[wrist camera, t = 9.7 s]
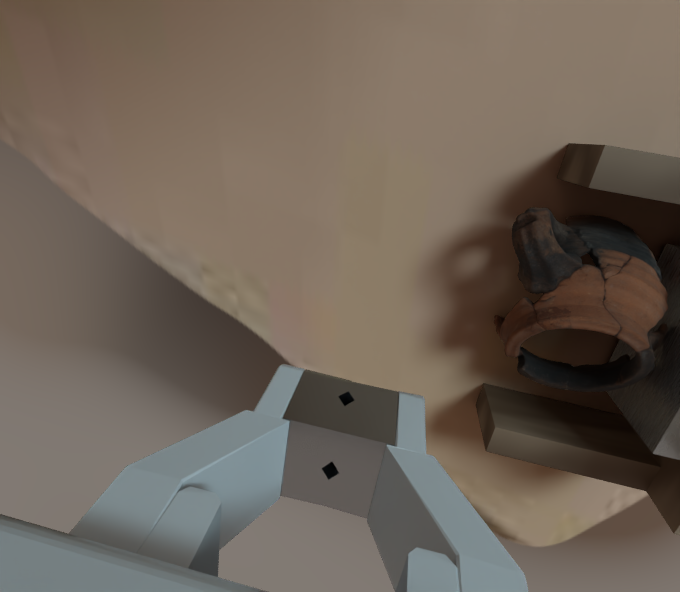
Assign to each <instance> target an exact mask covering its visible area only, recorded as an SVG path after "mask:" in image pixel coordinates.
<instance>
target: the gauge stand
mask: <svg viewBox="0 0 680 592" xmlns="http://www.w3.org/2000/svg"><path fill="white" fill-rule="evenodd" d="M557 178H558V179H561V180H564V181H568V182H571V183H574V184H578V185H581V186H584V187H588V188H592V189H598V190H603V191H609V192H615V193H620V194H626V195H631V196H637V197H642V198H648V199H653V200H659V201H664V202H670V203H675V204H680V158H678V157H672V156H666V155H660V154H654V153H648V152H642V151H637V150H631V149H625V148H619V147H613V146H607V145H592V144H570V143H569V145H568V148H567V151H566V154H565V156H564V159H563V162H562V165H561V168H560V170H559V173H558V176H557ZM476 408H477V413H478V417H479V422H480V427H481V431H482V436H483V440H484V445H485V449H486V451H487V452H491V453H495V454H499V455H503V456H507V457H511V458H515V459H519V460H523V461H527V462H531V463H535V464H539V465H543V466H547V467H551V468H555V469H559V470H563V471H567V472H571V473H575V474H579V475H583V476H587V477H591V478H595V479H599V480H603V481H607V482H612V483H616V484H620V485H624V486H628V487H632V488H636V489H640V490H644V491H647V493H648V494H649V496H650V497H651V499H652V501H653V502H654V504H655V505H656V507H657V508H658V510H659V511H660V513H661V515H662V516H663V518H664V519H665V521H666V522H667V524H668V525H669V527H670V528H671V530H672V531H673V533H674V534H678V535H680V460H677V459H673V458H669V457H665V456H661V455H657V454H653V453H652V452H651V451H650V449H649V448H648V447H647V445H646V444H645V443H644V441H643V440H642V439H641V437H640V436H639V435H638V433H637V432H636V431H635V429H634V428H633V427H632V425H631V424H630V423H629V421H628V420H627V418H626V417H625V416H624V415H623V416H621V415H617V414H613V413H608V412H604V411H600V410H595V409H591V408H587V407H583V406H578V405H574V404H570V403H565V402H561V401H557V400H552V399H548V398H544V397H539V396H535V395H531V394H527V393H522V392H518V391H514V390H509V389H505V388H501V387H496V386H492V385H488V384H484V383H483V386H482V389H481V392H480V395H479V397H478V400H477V403H476Z"/></svg>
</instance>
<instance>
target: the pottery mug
mask: <svg viewBox="0 0 680 592" xmlns="http://www.w3.org/2000/svg"><path fill="white" fill-rule="evenodd" d="M566 224H567V226H566V225H563V224H561V223H559V222H558V221H557V220H556V219H555V218H554V216H553V214H552V213H551V211H550V210H549V209H547V208H535V207H534V208H529V209H528V210H526V211H525V212H524V213H522V214H520V215H519V216H518V217H517V218H516V221H515V222H514V224H513V228H512V240H513V246H514V249H515V252H516V254H517V257H518V260H519V273H518V277H519V280H520V281H521V282H522V284H523V285H524V287H525V289H526V290H528V291H529V292H530V293H535V294H539V293H543V295H542V296H541V297H540V299H539V300H538V301H537V302H536V303H532V301H530V300H529V299H528V298H526V297H523V298H522V299H521V300H520V301H519V302H518V303H517V304H516V305H515V306H514V307H513V309H512V310H511V311H510V312H509V313H508V314H507V316H506V318H505V319H504V318H502V317H501V316H499V315H496V316H495V320H494V324H495V325H496V331H497V333H498V335H499V336H500V338H501V340H502V341H503V342H504V344H505V354H506V355H507V356H510V357H518V366H517V370H518V372H519V373H520V374H521V375H523V376H525V377H527V378H528V379H530V380H533V381H535V382H537V383H540V384H543V385H546V386H549V387H553V388H558V389H568V390H572V391H580V392H588V391H590V392H600V391H611V390H617V389H620V388H624V387H627V386H628V385H632V384H634V383H636V382H638V381H640V380H642V379H644V378H645V376H647V375H648V374H649V373H650V372H651V371H652V369H653V368H654V367H655V364H654V362H655V356H654V351H655V350H656V349H657V348H658V347H659V346H660V344H661V342H662V340H663V339H664V337H665V336H666V334H667V332H668V327H667V324H666V323H662V324H661V325H660V326H659V328H658V330H656V331H654V332H650V331H649V330H650V329H651V328H652V327H654V326H655V325H656V324H657V322H658V321H659V320H660V319H661V318H662V317H663V316H664V313H665V312H666V311H667V309H668V304H667V295H668V293H667V291H666V289H665V287H664V286H663V285H662V283H661V282H660V280H661V279H662V277H661V272H660V269H659V267H658V266H657V262H656V260H655V257H654V255H653V253H652V252H651V251H650V250H649V248H648V246H647V245H646V244H644V243H643V242H642V240H641V239H640V237H639V236H638V235H637V234H636V233H635V232H634V231H633V230H632V229H631V228H629V227H628V226H626V225H624V224H622V223H621V222H618V221H616V220H612V219H609V218H606V217H600V216H575V217H568V218H567V219H566ZM586 253H588V254H589V255H590V257H591V258H592V259H593V262H594V263H595V265H596V267H594V266H592V265H589V264H582V259H581V258H580V257H581V256H583V255H585V254H586ZM554 329H584V330H591V331H597V332H601V333H605V334H608V335H612V336H615V337H616V338H618V339H620V340H622V341H624V342H625V343H627V344H628V345H629V346H630V347H631V348H632V349H633V350H634V351H635V352H636V355H635V357H634V358H633V359H631V360H630V356H629V355H627V354H625V355H623V356H621V357H619V358H618V359H617V360H615V361H613V362H610V363H606V364H601V365H580V366H572V365H571V364H568V363H563V362H556V361H551V360H547V359H543V358H540V357H538V356H536V355H534V354H532V353H530V352H529V351H527V350H526V349H524V348H523V347H521V344H522V343H523V342H524V341H525V340H527V339H528V338H530V337H532V336H534V335H536V334H539V333H541V332H543V331H546V330H554Z"/></svg>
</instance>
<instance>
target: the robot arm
mask: <svg viewBox="0 0 680 592" xmlns="http://www.w3.org/2000/svg"><path fill="white" fill-rule="evenodd" d="M280 496H284V497H289V498H293V499H297V500H302V501H306V502H310V503H314V504H319V505H323V506H327V507H330V508H333V509H337V510H340V511H343V512H347V513H350V514H354V515H357V516H360V517H364V518H367V522H368V524H369V527H370V530H371V532H372V535H373V537H374V540H375V542H376V545H377V547H378V550H379V552H380V555H381V558H382V560H383V563H384V565H385V568H386V570H387V572H388V575H389V578H390V580H391V583H392V585H393V588H394V590H395V592H528V588H527V583H526V579H525V574H524V573H523V572H522V570H521V569H520V568H519V566H518V565H517V564H516V563H515V561H514V560H513V559H512V557H511V556H510V555H509V553H508V552H507V551H506V549H505V548H504V547H503V545H502V544H501V543H500V542H499V540H498V539H497V538H496V536H495V535H494V534H493V532H492V531H491V530H490V529H489V527H488V526H487V525H486V523H485V522H484V521H483V519H482V518H481V517H480V516H479V514H478V513H477V512H476V510H475V509H474V508H473V506H472V505H471V504H470V503H469V501H468V500H467V499H466V497H465V496H464V495H463V493H462V492H461V491H460V490H459V488H458V487H457V486H456V484H455V483H454V482H453V480H452V479H451V478H450V477H449V475H448V474H447V473H446V471H445V470H444V469H443V467H442V466H441V465H440V464H439V462H438V461H437V460H436V458H435V457H434V456H431V455H427V454H426V430H425V399H424V397H423V396H420V395H415V394H410V393H405V392H400V391H399V392H397V391H393V390H388V389H384V388H379V387H374V386H370V385H365V384H361V383H356V382H352V381H350V380H346V379H342V378H338V377H334V376H330V375H326V374H322V373H318V372H315V371H311V370H307V369H306V370H305V369H303V368H298V367H294V366H290V365H285V364H282V365H281V366H279V367H278V369H277V371H276V372H275V374H274V376H273V378H272V379H271V381H270V383H269V385H268V386H267V388H266V390H265V392H264V393H263V395H262V397H261V399H260V400H259V402H258V404H257V406H256V407H255V409H254V411H253V412H252V411H248V410H245V411H243V412H241V413H239V414H237V415H234V416H232V417H230V418H228V419H226V420H224V421H222V422H219V423H217V424H215V425H213V426H211V427H209V428H207V429H205V430H203V431H200V432H198V433H196V434H194V435H192V436H190V437H187V438H185V439H183V440H181V441H179V442H177V443H175V444H173V445H170V446H168V447H166V448H164V449H162V450H160V451H158V452H156V453H153V454H151V455H149V456H147V457H145V458H143V459H141V460H139V461H137V462H134V463H132V464H130V465H128V466H126V467H125V469H123V471H122V472H121V473H120V474H119V475H118V476H117V478H116V479H115V480H114V481H113V482H112V483H111V485H110V486H109V487H108V488H107V489H106V491H105V492H104V493H103V494H102V495H101V496H100V498H99V499H98V500H97V501H96V502H95V503H94V505H93V506H92V507H91V508H90V509H89V511H88V512H87V513H86V514H85V515H84V516H83V517H82V519H81V520H80V521H79V522H78V524H77V525H76V526H75V527H74V528H73V529H72V530H71V532H70V533H69V534H67V533H64V532H60V531H57V530H53V529H50V528H46V527H43V526H40V525H36V524H32V523H29V522H25V521H22V520H19V519H15V518H12V517H8V516H5V515H2V514H0V592H267V591H263V590H260V589H257V588H253V587H249V586H246V585H243V584H239V583H236V582H233V581H229V580H226V579H222V578H219V577H218V563H219V561H218V560H219V550H220V549H221V548H222V547H224V546H225V545H226V544H227V543H228V542H229V541H230V540H232V539H233V538H234V537H235V536H236V535H238V534H239V533H240V532H241V531H242V530H243V529H244V528H246V527H247V526H248V525H249V524H250V523H252V522H253V521H254V520H255V519H256V518H257V517H258V516H259V515H261V514H262V513H263V512H264V511H265V510H267V509H268V508H269V507H270V506H271V505H272V504H274V503H275V502H276V501H277V500H278V499H279V498H280Z"/></svg>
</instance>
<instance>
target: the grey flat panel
mask: <svg viewBox="0 0 680 592" xmlns="http://www.w3.org/2000/svg"><path fill="white" fill-rule="evenodd" d="M657 266H658V267H659V269H660V272H661V277H662V279H661V280H660V282H661V283H662V285H663V286H664V287H665V289H666V291H667V293H668V295H667V304H668V309H667V311H666V312H665V313H664V316H663V317H662V318H661V319H660V320H659V321H658V322H657V324H656V325H655V326H654V327H652V328H651V329H650V330H649V331H650V332H654V331H656V330H658V328H659V326H660V325H661V324H662V323H666V324H667V327H668V332H667V334H666V336H665V337H664V339H663V340H662V342H661V344H660V346H659V347H658V348H657V349H656V350H655V351H654V356H655V362H654V364H655V367H654V368H653V369H652V371H651V372H650V373H649V374H648V375H647V376H645V378H644V379H642V380H640V381H638V382H636V383H634V384H632V385H628V386H627V387H624V388H620V389H617V390H611V391H606V392H607V393H608V394H609V396H610V397H611V398H612V400H613V401H614V402H615V404H616V405H617V406H618V408H619V409H620V410H621V412H622V413H623V414H624V416H625V417H626V418H627V420H628V421H629V423H630V424H631V425H632V427H633V428H634V429H635V431H636V432H637V433H638V435H639V436H640V437H641V439H642V440H643V441H644V443H645V444H646V445H647V447H648V448H649V449H650V451H651V452H652V453H653V454H657V455H661V456H665V457H669V458H673V459H677V460H680V246H676V245H671V244H666V246H665V248H664V250H663V252H662V254H661V256H660V258H659V260H658V262H657ZM625 354H627V355H629V356H630V360H631V359H633V358H634V357H635V355H636V352H635V351H634V350H633V349H632V348H631V347H630V346H629V345H628V344H627V343H625V342H624V341H622V340H619V342H618V344H617V346H616V348H615V350H614V352H613V354H612V357H611V359H610V361H609V363H610V362H613V361H615V360H617V359H618V358H619V357H621V356H623V355H625Z"/></svg>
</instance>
